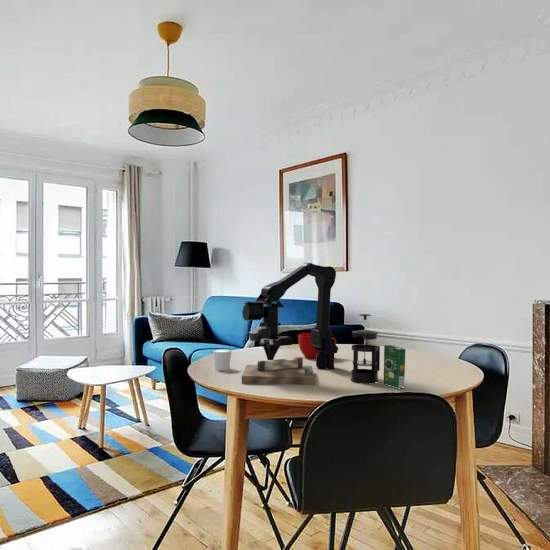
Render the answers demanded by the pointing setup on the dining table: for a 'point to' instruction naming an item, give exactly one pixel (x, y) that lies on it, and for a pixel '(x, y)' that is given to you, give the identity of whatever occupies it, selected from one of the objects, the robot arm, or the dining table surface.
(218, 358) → the white cylinder
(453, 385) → the dining table surface
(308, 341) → the ceramic cup
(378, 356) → the french press
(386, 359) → the coffee box
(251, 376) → the stool seat
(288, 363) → the hinged leg
